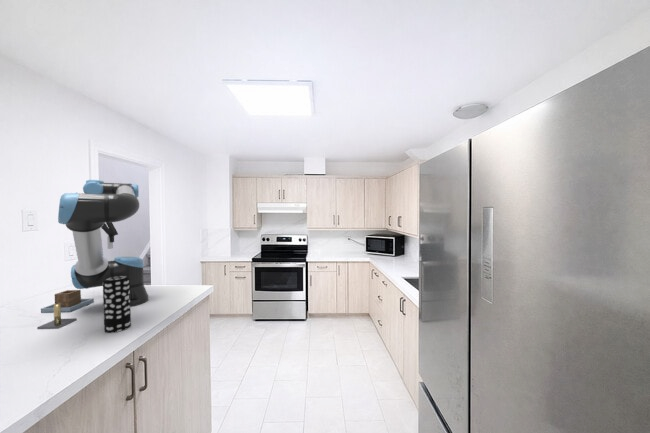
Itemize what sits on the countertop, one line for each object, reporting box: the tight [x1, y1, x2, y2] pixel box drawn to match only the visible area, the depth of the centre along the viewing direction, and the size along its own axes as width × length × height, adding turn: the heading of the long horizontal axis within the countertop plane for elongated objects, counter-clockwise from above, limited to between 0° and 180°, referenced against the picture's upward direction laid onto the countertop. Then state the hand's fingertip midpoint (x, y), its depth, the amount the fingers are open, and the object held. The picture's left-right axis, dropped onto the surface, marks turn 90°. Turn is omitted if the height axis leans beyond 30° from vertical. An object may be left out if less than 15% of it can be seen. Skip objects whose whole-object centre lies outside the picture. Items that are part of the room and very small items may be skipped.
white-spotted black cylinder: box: [102, 275, 132, 334], centre depth 104 cm, size 8×8×20 cm
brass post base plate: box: [37, 303, 77, 330], centre depth 108 cm, size 8×8×8 cm
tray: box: [40, 298, 95, 314], centre depth 127 cm, size 13×13×2 cm
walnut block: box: [54, 289, 82, 308], centre depth 127 cm, size 6×6×7 cm
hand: (97, 248), depth 140 cm, fingers open, 13 cm apart
